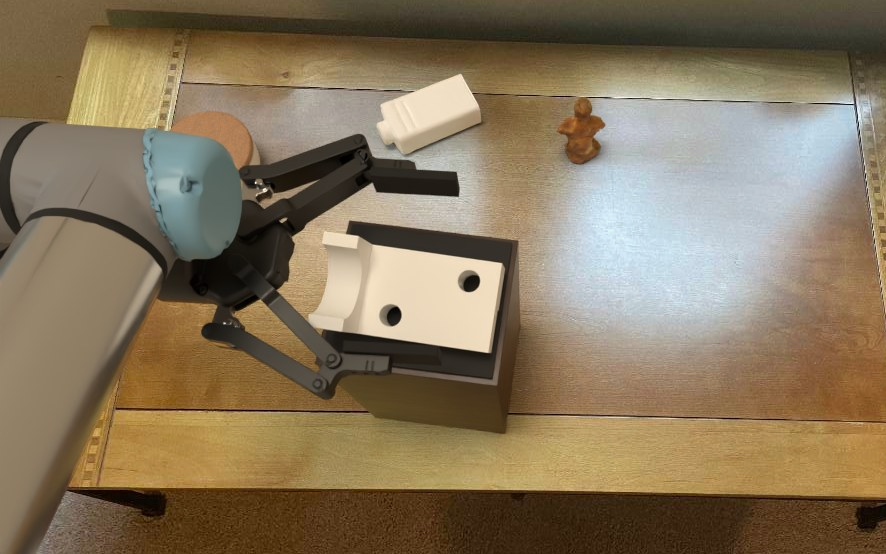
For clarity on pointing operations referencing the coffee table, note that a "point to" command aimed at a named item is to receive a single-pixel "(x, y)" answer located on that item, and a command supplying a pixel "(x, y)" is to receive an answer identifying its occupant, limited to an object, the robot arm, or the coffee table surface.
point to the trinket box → (222, 135)
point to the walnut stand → (447, 393)
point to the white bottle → (428, 114)
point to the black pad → (469, 248)
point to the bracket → (408, 294)
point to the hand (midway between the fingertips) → (450, 266)
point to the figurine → (581, 132)
